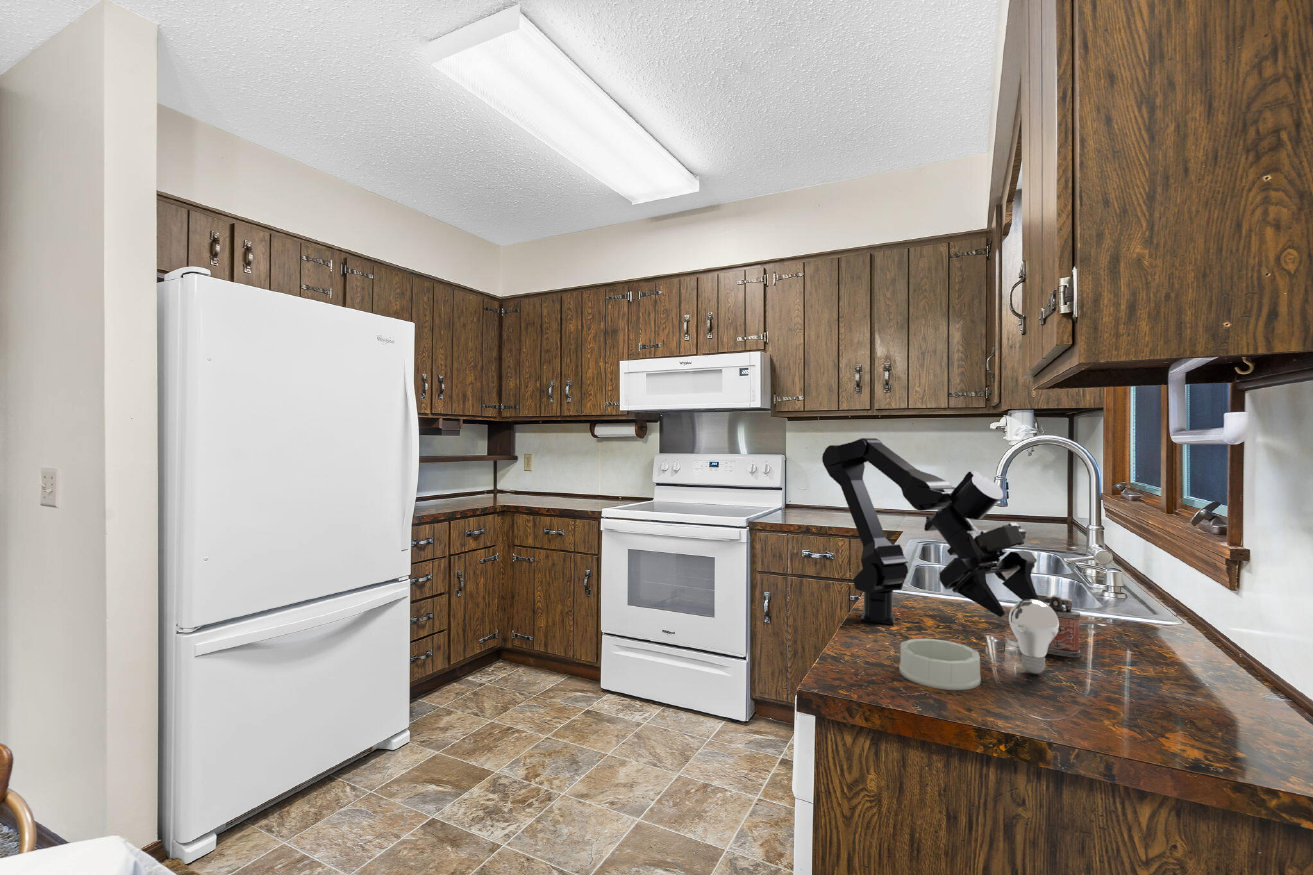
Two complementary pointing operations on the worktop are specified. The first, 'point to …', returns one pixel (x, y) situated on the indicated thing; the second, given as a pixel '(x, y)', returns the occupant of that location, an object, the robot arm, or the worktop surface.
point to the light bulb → (1033, 631)
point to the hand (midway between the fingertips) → (1021, 612)
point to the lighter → (1064, 627)
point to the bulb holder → (940, 664)
